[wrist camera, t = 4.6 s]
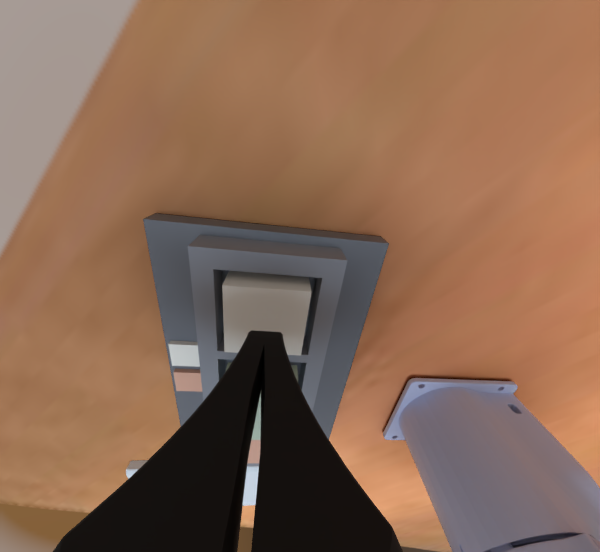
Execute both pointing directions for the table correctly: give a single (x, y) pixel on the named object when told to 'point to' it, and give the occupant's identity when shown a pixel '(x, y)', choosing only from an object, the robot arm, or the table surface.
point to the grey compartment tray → (271, 260)
